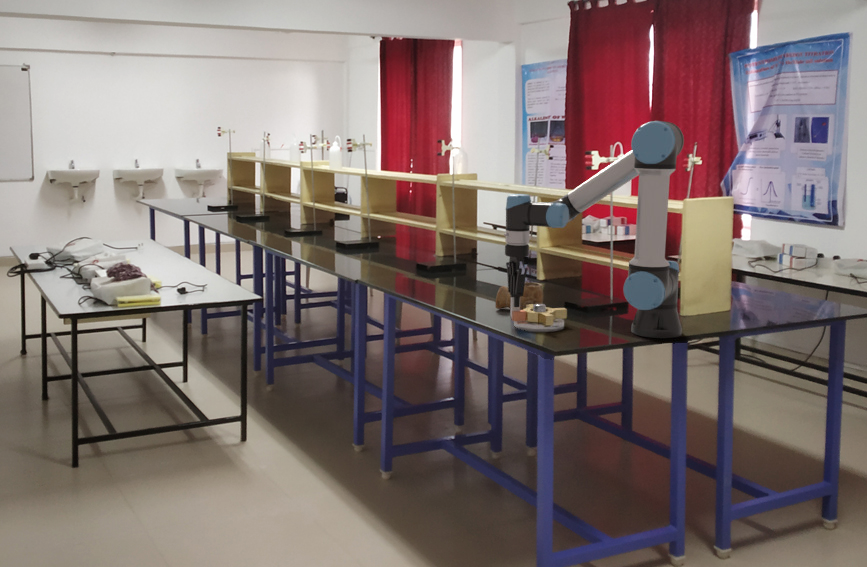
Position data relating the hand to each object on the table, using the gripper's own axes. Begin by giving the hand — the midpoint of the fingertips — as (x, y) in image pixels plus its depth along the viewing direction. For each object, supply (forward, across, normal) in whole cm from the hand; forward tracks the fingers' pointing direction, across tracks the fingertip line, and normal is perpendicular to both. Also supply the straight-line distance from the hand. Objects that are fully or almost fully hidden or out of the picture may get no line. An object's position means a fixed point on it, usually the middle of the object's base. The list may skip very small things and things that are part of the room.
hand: (514, 316), depth 272 cm
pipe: (+4, -23, +10) cm, 25 cm away
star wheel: (+1, +1, +8) cm, 8 cm away
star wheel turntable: (+3, +1, +8) cm, 9 cm away
